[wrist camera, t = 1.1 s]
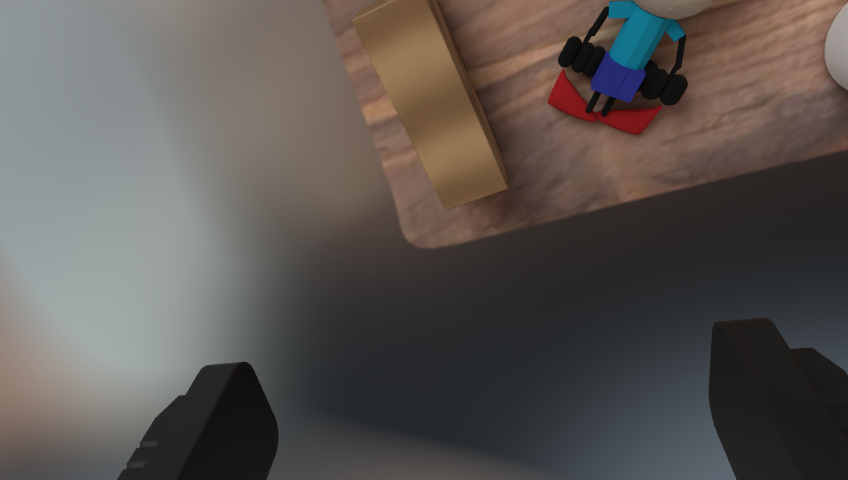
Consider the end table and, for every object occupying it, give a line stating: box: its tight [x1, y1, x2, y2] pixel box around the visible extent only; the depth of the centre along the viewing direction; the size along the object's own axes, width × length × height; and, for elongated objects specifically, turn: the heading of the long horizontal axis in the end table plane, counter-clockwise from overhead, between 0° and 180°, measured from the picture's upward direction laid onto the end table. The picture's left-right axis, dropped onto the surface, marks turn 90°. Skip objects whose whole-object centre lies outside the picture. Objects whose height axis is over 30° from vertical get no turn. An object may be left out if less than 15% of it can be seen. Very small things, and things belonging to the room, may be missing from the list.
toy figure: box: [548, 0, 714, 135], centre depth 31 cm, size 8×5×15 cm
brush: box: [352, 0, 508, 211], centre depth 34 cm, size 12×4×4 cm, turn 25°
